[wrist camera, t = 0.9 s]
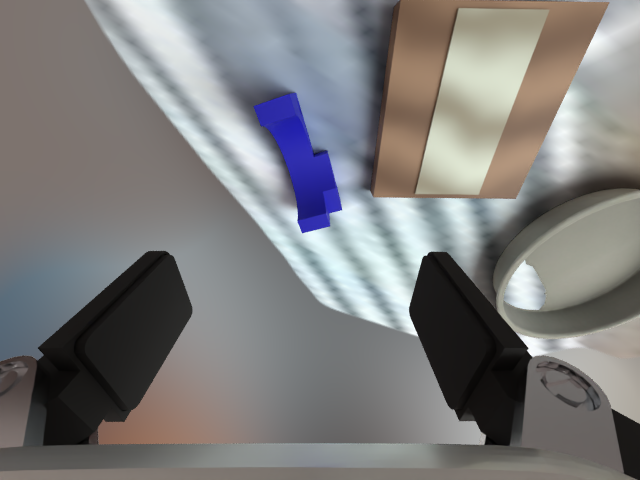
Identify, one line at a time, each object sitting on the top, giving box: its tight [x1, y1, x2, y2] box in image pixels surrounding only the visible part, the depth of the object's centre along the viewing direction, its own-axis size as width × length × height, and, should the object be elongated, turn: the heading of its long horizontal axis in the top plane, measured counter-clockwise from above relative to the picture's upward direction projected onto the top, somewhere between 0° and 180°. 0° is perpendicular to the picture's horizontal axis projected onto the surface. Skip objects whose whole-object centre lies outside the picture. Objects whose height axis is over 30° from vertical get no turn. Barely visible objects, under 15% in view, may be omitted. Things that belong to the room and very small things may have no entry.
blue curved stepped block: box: [254, 93, 342, 233], centre depth 24 cm, size 12×4×6 cm, turn 16°
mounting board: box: [370, 0, 609, 199], centre depth 23 cm, size 16×16×2 cm
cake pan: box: [493, 188, 640, 339], centre depth 32 cm, size 25×25×4 cm
